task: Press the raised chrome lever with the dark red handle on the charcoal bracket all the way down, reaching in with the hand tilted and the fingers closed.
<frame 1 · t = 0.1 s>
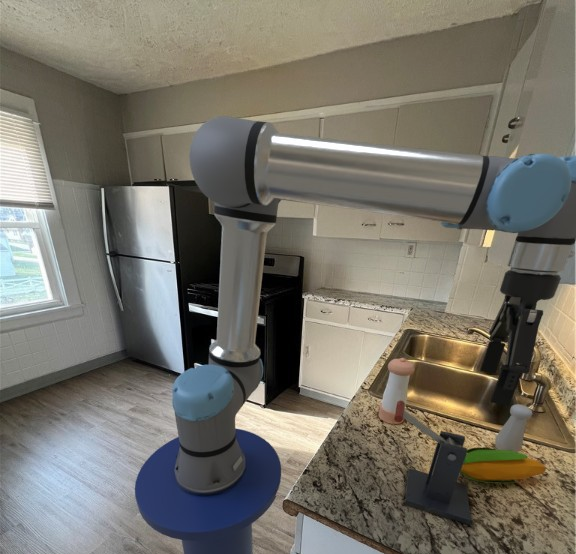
hand: (492, 386, 60), 25 cm above the counter, tool pointing down, fingers open, 13 cm apart
corn: (495, 477, 73), on the counter
pepper shaker: (390, 417, 93), on the counter
salt shaker: (504, 450, 81), on the counter
lever: (426, 430, 62), point 16 cm above the counter, hinge at 28.0°
bracket: (435, 496, 67), on the counter
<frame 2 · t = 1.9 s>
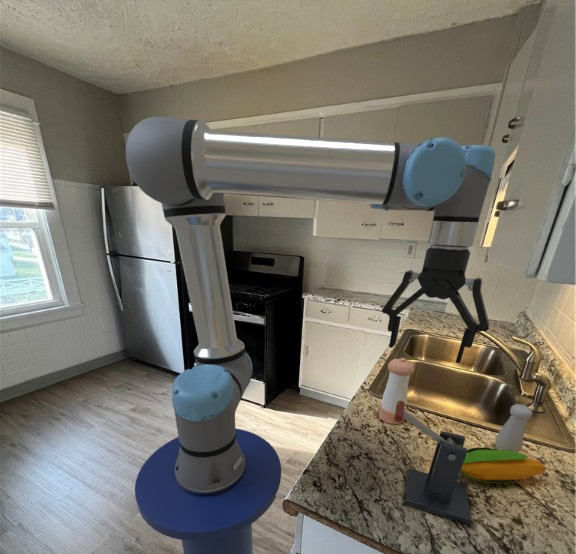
hand: (423, 353, 67), 27 cm above the counter, tool pointing down, fingers open, 13 cm apart
nothing on the counter moved.
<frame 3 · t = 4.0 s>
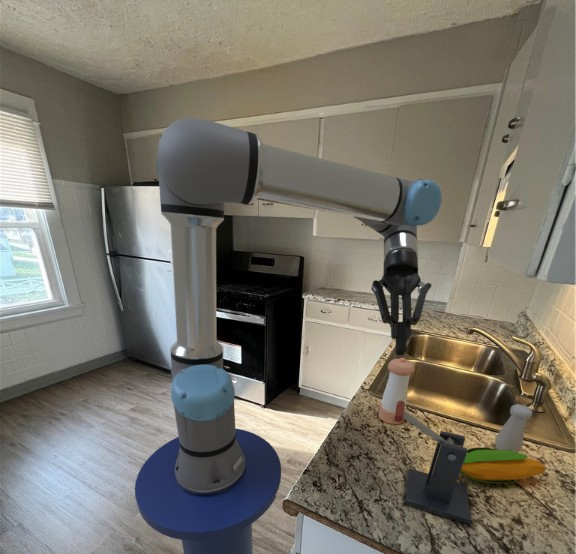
hand: (401, 352, 65), 28 cm above the counter, tool tilted 45°, fingers closed
nothing on the counter moved.
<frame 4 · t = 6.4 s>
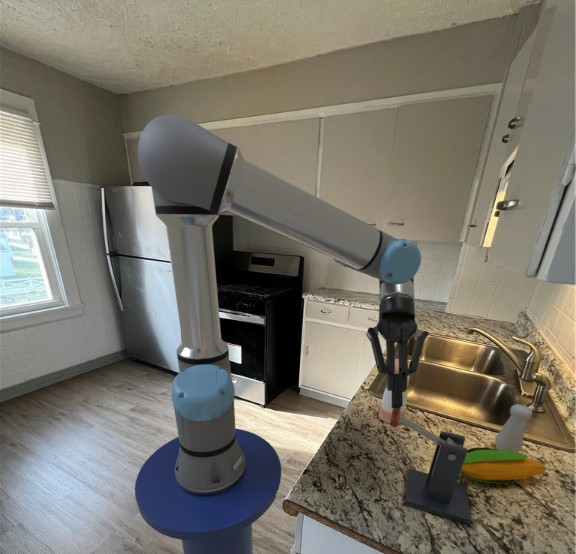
hand: (397, 406, 62), 19 cm above the counter, tool tilted 45°, fingers closed
lever: (424, 432, 62), point 15 cm above the counter, hinge at 21.0°
everything else where it was.
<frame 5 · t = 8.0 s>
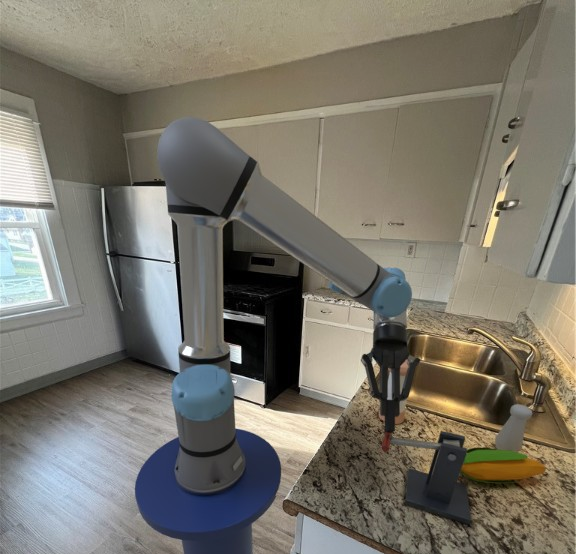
hand: (389, 431, 65), 13 cm above the counter, tool tilted 45°, fingers closed
lever: (419, 444, 63), point 12 cm above the counter, hinge at -9.5°, touching gripper
everything else where it was.
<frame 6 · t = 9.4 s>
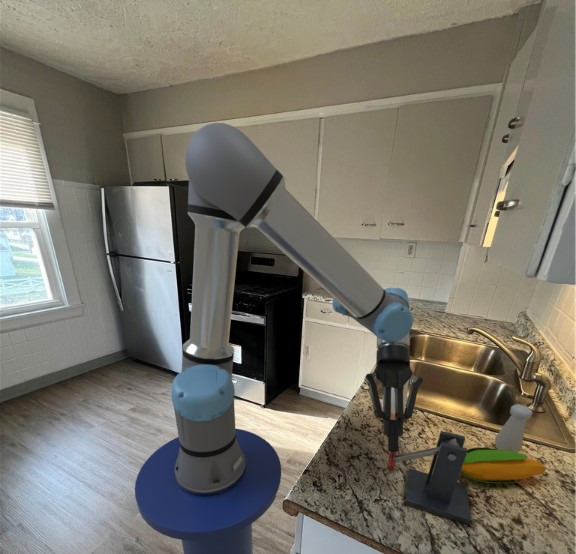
hand: (393, 451, 67), 8 cm above the counter, tool tilted 45°, fingers closed
lever: (421, 453, 64), point 10 cm above the counter, hinge at -33.4°, touching gripper
everything else where it was.
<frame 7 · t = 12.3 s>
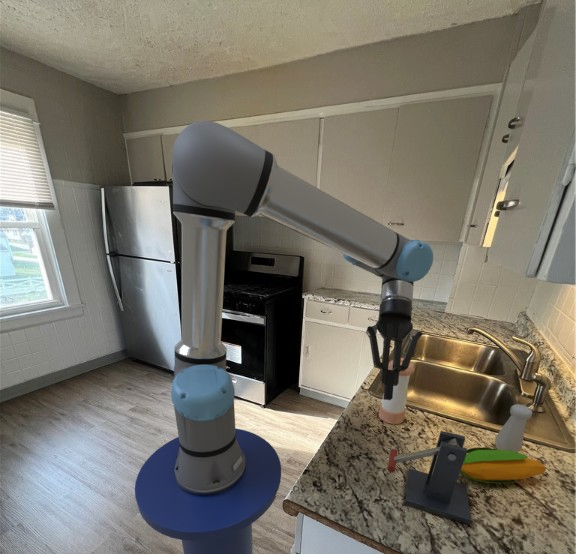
hand: (387, 398, 71), 16 cm above the counter, tool tilted 40°, fingers closed
lever: (421, 454, 64), point 10 cm above the counter, hinge at -34.5°
everything else where it was.
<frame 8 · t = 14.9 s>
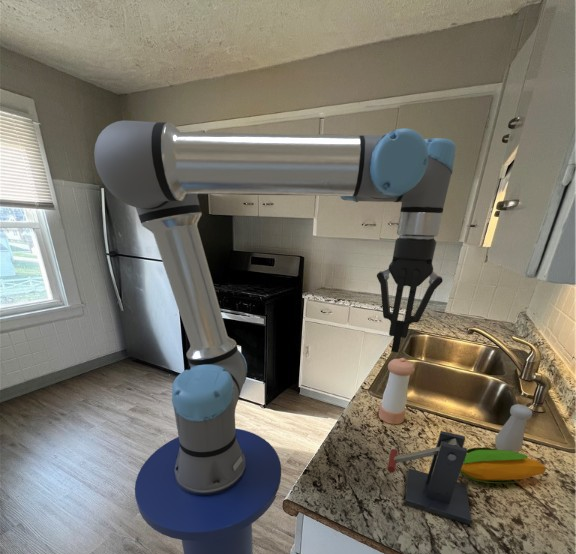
hand: (395, 349, 71), 26 cm above the counter, tool pointing down, fingers closed
nothing on the counter moved.
at the end: lever at -34° (first picture: +28°) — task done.
